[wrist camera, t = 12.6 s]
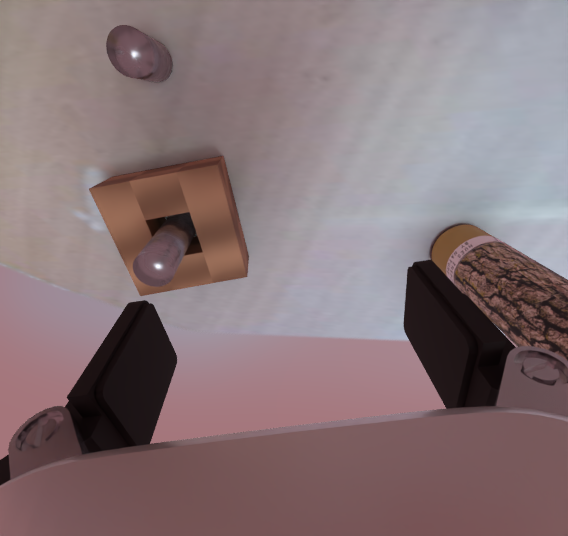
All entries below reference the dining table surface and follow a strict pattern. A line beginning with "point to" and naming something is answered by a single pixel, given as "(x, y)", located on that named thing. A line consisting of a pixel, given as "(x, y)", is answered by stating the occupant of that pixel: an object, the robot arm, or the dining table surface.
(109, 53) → the mauve rounded capsule
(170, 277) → the grey tall cylinder
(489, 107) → the dining table surface
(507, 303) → the brown bark cylinder
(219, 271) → the walnut block
